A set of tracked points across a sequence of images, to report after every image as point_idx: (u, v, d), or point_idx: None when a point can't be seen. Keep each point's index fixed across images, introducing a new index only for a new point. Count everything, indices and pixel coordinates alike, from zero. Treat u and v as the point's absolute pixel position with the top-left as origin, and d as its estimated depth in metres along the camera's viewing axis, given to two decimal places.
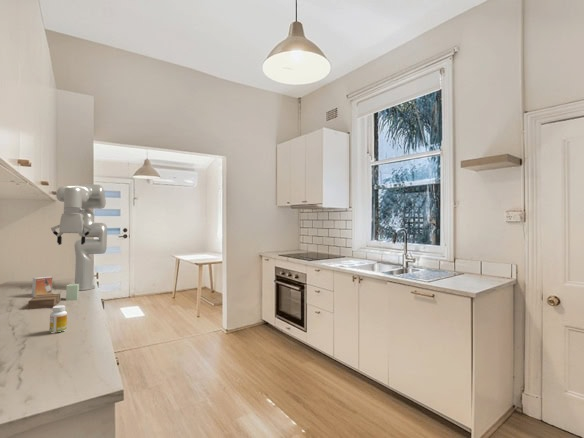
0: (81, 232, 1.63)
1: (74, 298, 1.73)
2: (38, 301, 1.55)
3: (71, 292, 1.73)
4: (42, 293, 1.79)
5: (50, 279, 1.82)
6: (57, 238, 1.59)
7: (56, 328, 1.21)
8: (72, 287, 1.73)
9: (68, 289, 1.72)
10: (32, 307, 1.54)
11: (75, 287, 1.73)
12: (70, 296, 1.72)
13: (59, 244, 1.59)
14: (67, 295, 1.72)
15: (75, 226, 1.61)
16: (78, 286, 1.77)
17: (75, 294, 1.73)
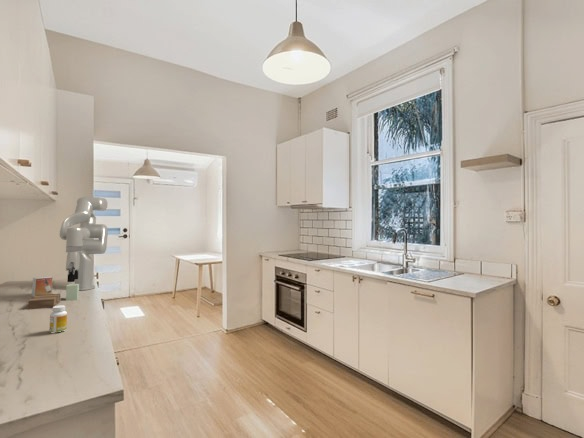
0: None
1: (74, 298, 1.73)
2: (38, 301, 1.55)
3: (71, 292, 1.73)
4: (42, 293, 1.79)
5: (50, 279, 1.82)
6: (72, 276, 1.70)
7: (56, 328, 1.21)
8: (72, 287, 1.73)
9: (68, 289, 1.72)
10: (32, 307, 1.54)
11: (75, 287, 1.73)
12: (70, 296, 1.72)
13: None
14: (67, 295, 1.72)
15: (79, 263, 1.78)
16: (78, 286, 1.77)
17: (75, 294, 1.73)
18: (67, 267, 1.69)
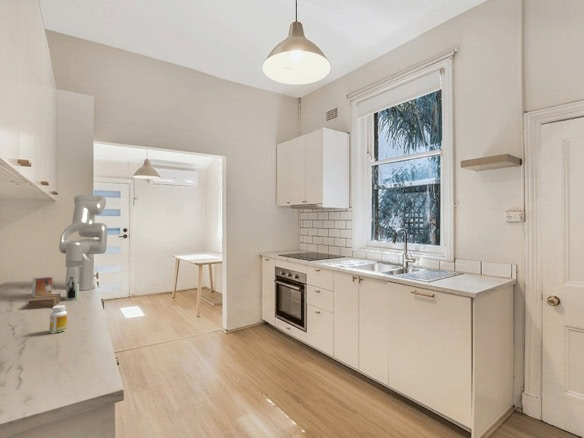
0: None
1: (74, 298, 1.73)
2: (38, 301, 1.55)
3: None
4: (42, 293, 1.79)
5: (50, 279, 1.82)
6: (72, 292, 1.72)
7: (56, 328, 1.21)
8: None
9: None
10: (32, 307, 1.54)
11: (75, 287, 1.73)
12: None
13: (74, 297, 1.73)
14: (67, 295, 1.72)
15: (78, 277, 1.78)
16: (78, 286, 1.77)
17: (75, 294, 1.73)
18: (67, 282, 1.70)
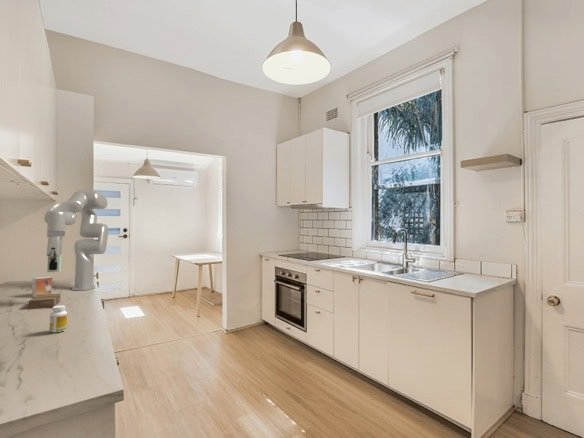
0: None
1: (56, 270, 1.64)
2: (38, 301, 1.55)
3: None
4: (42, 293, 1.79)
5: (50, 279, 1.82)
6: (54, 263, 1.62)
7: (56, 328, 1.21)
8: None
9: None
10: (32, 307, 1.54)
11: (58, 258, 1.64)
12: None
13: (56, 269, 1.64)
14: (48, 267, 1.62)
15: (61, 249, 1.68)
16: (61, 258, 1.67)
17: (57, 266, 1.64)
18: (48, 252, 1.60)
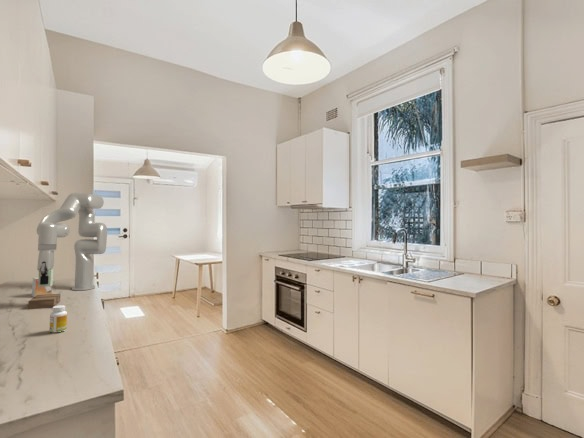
0: None
1: (47, 284, 1.60)
2: (38, 301, 1.55)
3: None
4: (42, 293, 1.79)
5: None
6: (45, 278, 1.59)
7: (56, 328, 1.21)
8: None
9: None
10: (32, 307, 1.54)
11: (49, 272, 1.60)
12: None
13: (47, 283, 1.60)
14: (39, 281, 1.59)
15: (53, 262, 1.65)
16: (52, 272, 1.64)
17: (48, 280, 1.60)
18: (39, 267, 1.56)
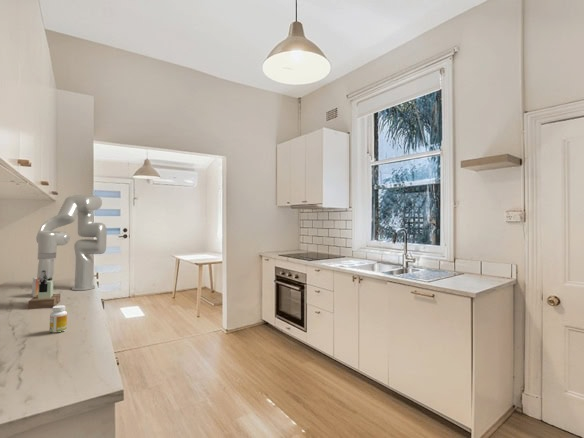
0: (51, 276, 1.66)
1: (47, 296, 1.60)
2: (38, 301, 1.55)
3: None
4: None
5: None
6: (44, 286, 1.57)
7: (56, 328, 1.21)
8: None
9: None
10: (32, 307, 1.54)
11: (49, 284, 1.60)
12: (43, 294, 1.59)
13: None
14: (39, 292, 1.59)
15: (52, 270, 1.65)
16: (52, 283, 1.64)
17: (48, 291, 1.60)
18: (38, 276, 1.56)
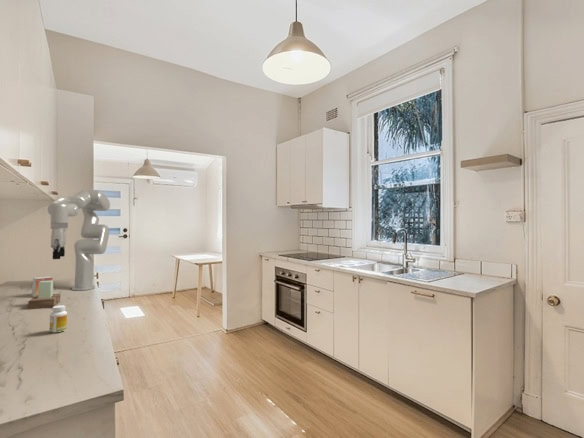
0: (64, 245, 1.75)
1: (47, 296, 1.60)
2: (38, 301, 1.55)
3: (43, 289, 1.59)
4: None
5: (50, 279, 1.82)
6: (57, 253, 1.66)
7: (56, 328, 1.21)
8: (45, 284, 1.60)
9: (40, 286, 1.59)
10: (32, 307, 1.54)
11: (49, 284, 1.60)
12: (43, 294, 1.59)
13: None
14: (39, 292, 1.59)
15: (65, 240, 1.73)
16: (52, 283, 1.64)
17: (48, 291, 1.60)
18: (52, 244, 1.65)
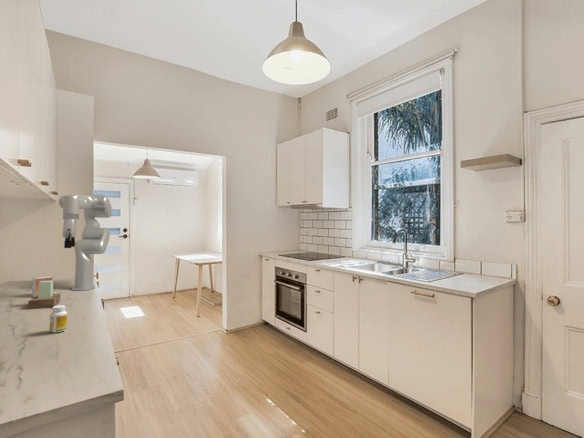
0: (74, 236, 1.83)
1: (47, 296, 1.60)
2: (38, 301, 1.55)
3: (43, 289, 1.59)
4: None
5: (50, 279, 1.82)
6: (69, 242, 1.74)
7: (56, 328, 1.21)
8: (45, 284, 1.60)
9: (40, 286, 1.59)
10: (32, 307, 1.54)
11: (49, 284, 1.60)
12: (43, 294, 1.59)
13: None
14: (39, 292, 1.59)
15: (75, 230, 1.82)
16: (52, 283, 1.64)
17: (48, 291, 1.60)
18: (64, 233, 1.73)
